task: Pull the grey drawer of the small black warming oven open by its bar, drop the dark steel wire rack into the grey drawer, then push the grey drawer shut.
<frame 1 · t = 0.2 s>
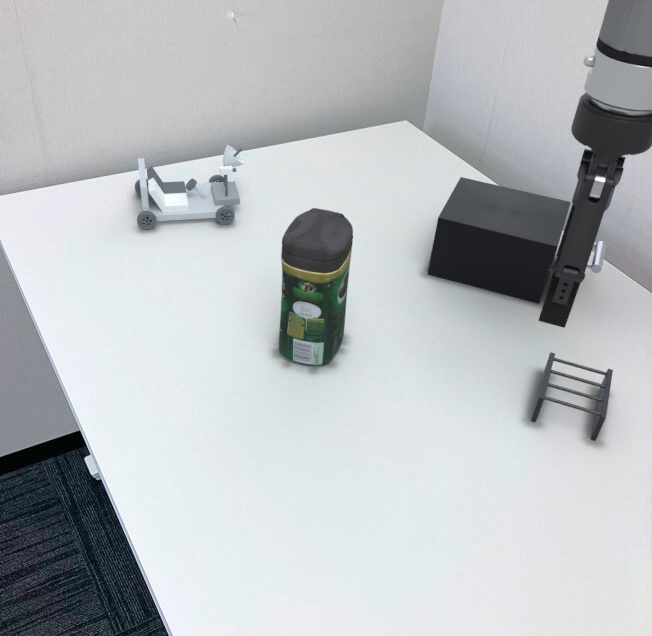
hand: (560, 288, 83), 16 cm above the table, tool pointing down, fingers open, 13 cm apart
rack: (567, 406, 92), on the table
coffee jar: (310, 346, 99), on the table
toy car: (192, 209, 124), on the table
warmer: (491, 265, 115), on the table
grey drawer: (530, 246, 111), point 5 cm above the table, slide at 0.5 cm
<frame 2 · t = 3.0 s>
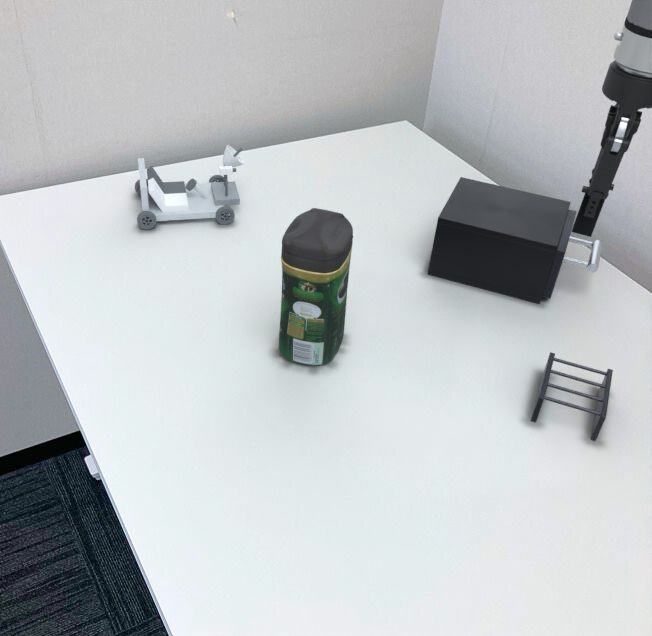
hand: (581, 231, 106), 9 cm above the table, tool pointing down, fingers closed
grey drawer: (527, 245, 111), point 5 cm above the table, slide at 0.0 cm, touching gripper, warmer
everything else where it was.
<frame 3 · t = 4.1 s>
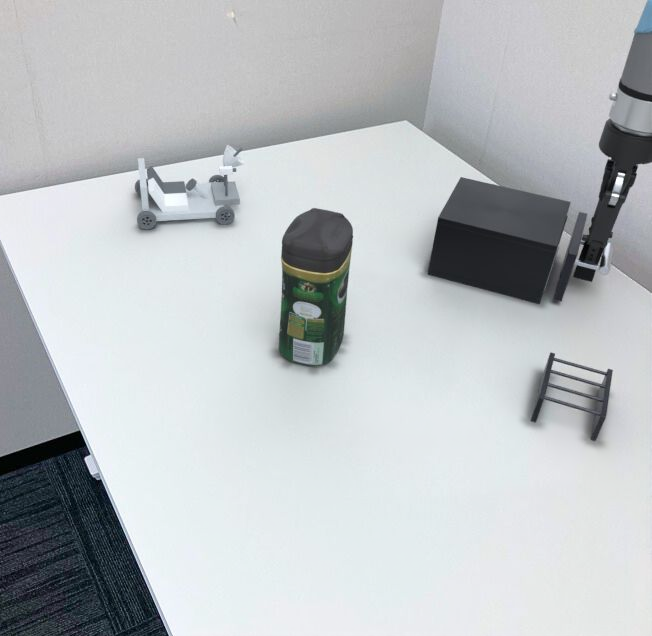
hand: (582, 276, 110), 2 cm above the table, tool pointing down, fingers closed
grey drawer: (537, 247, 110), point 5 cm above the table, slide at 1.6 cm
everything else where it was.
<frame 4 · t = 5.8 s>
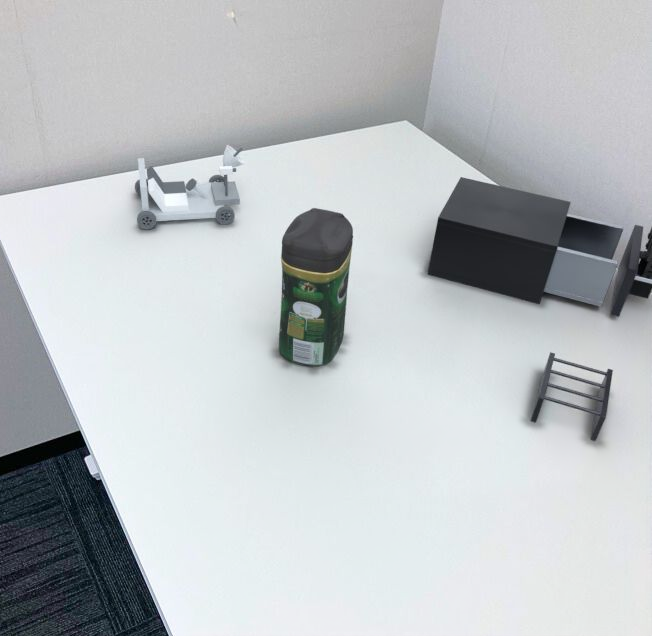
hand: (638, 293, 108), 2 cm above the table, tool pointing down, fingers closed
grey drawer: (593, 261, 108), point 5 cm above the table, slide at 9.6 cm, touching gripper
everything else where it was.
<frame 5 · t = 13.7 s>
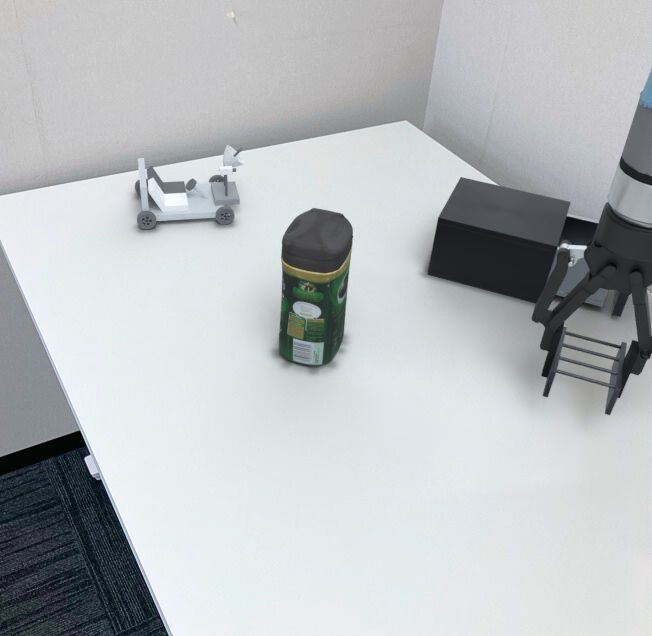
hand: (581, 379, 89), 5 cm above the table, tool pointing down, fingers closed on rack, 8 cm apart
rack: (580, 381, 89), point 4 cm above the table, touching gripper
grey drawer: (594, 261, 108), point 5 cm above the table, slide at 9.7 cm
everything else where it was.
when the fingers open (7 cm above the table, at t = 19.0 s): rack drops 4 cm, resting on grey drawer.
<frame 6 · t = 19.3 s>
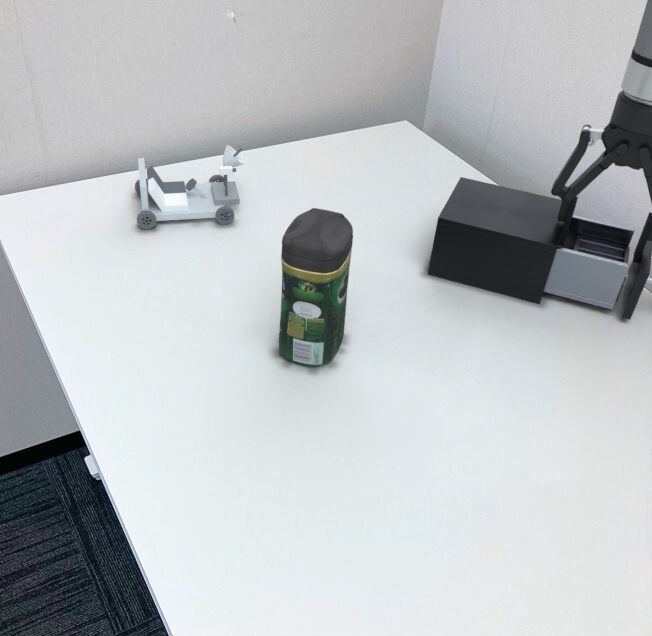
hand: (598, 249, 107), 7 cm above the table, tool pointing down, fingers open, 10 cm apart
rack: (592, 278, 110), point 2 cm above the table, touching grey drawer
grey drawer: (603, 264, 108), point 5 cm above the table, slide at 11.1 cm, touching gripper, rack
everything else where it was.
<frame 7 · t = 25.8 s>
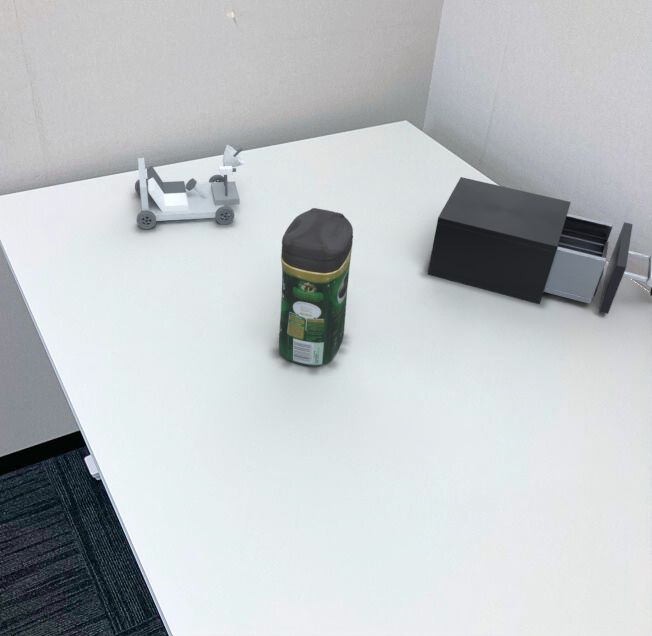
rack: (571, 273, 111), point 2 cm above the table, touching grey drawer
grey drawer: (582, 258, 109), point 5 cm above the table, slide at 8.0 cm, touching gripper, rack
everything else where it was.
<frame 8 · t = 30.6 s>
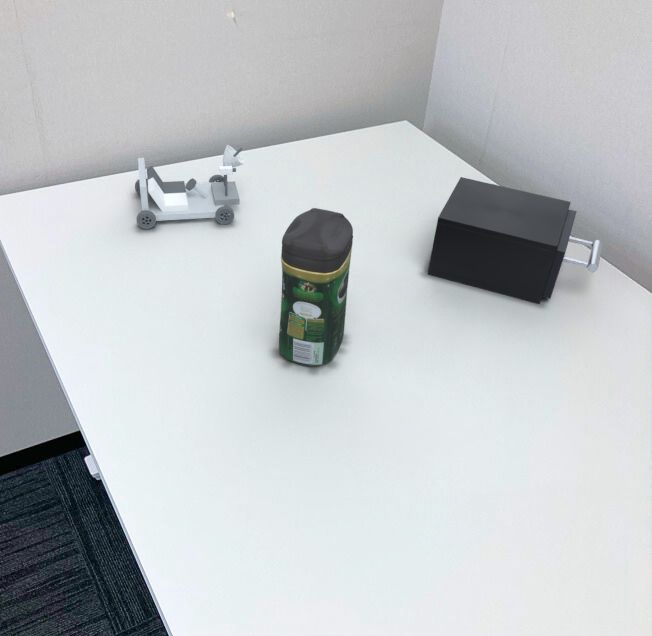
rack: (517, 259, 113), point 2 cm above the table, touching grey drawer
grey drawer: (527, 245, 111), point 5 cm above the table, slide at 0.0 cm, touching rack
everything else where it was.
at the end: grey drawer pulled out 11.1 cm at the most during the clip, back to where it started at the end; rack inside the target area in the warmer (3.4 cm from its centre), point 2.1 cm above the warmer's base; grey drawer slide at 0.0 cm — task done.
